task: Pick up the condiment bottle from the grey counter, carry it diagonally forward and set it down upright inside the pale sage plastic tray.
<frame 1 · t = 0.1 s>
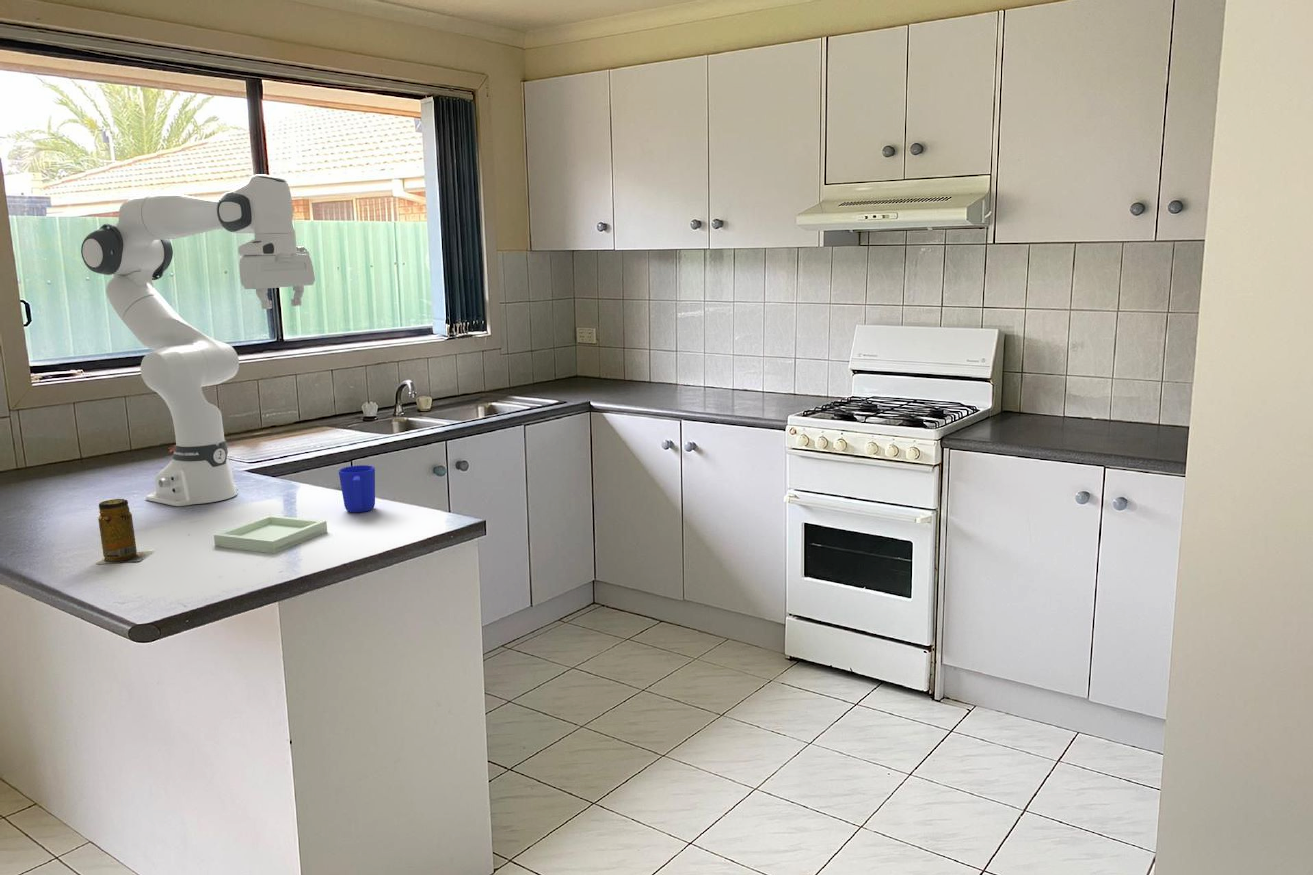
hand: (282, 307, 232), 48 cm above the worktop, fingers open, 8 cm apart
condiment: (125, 559, 204), on the worktop
tray: (272, 538, 214), on the worktop
mug: (360, 512, 234), on the worktop
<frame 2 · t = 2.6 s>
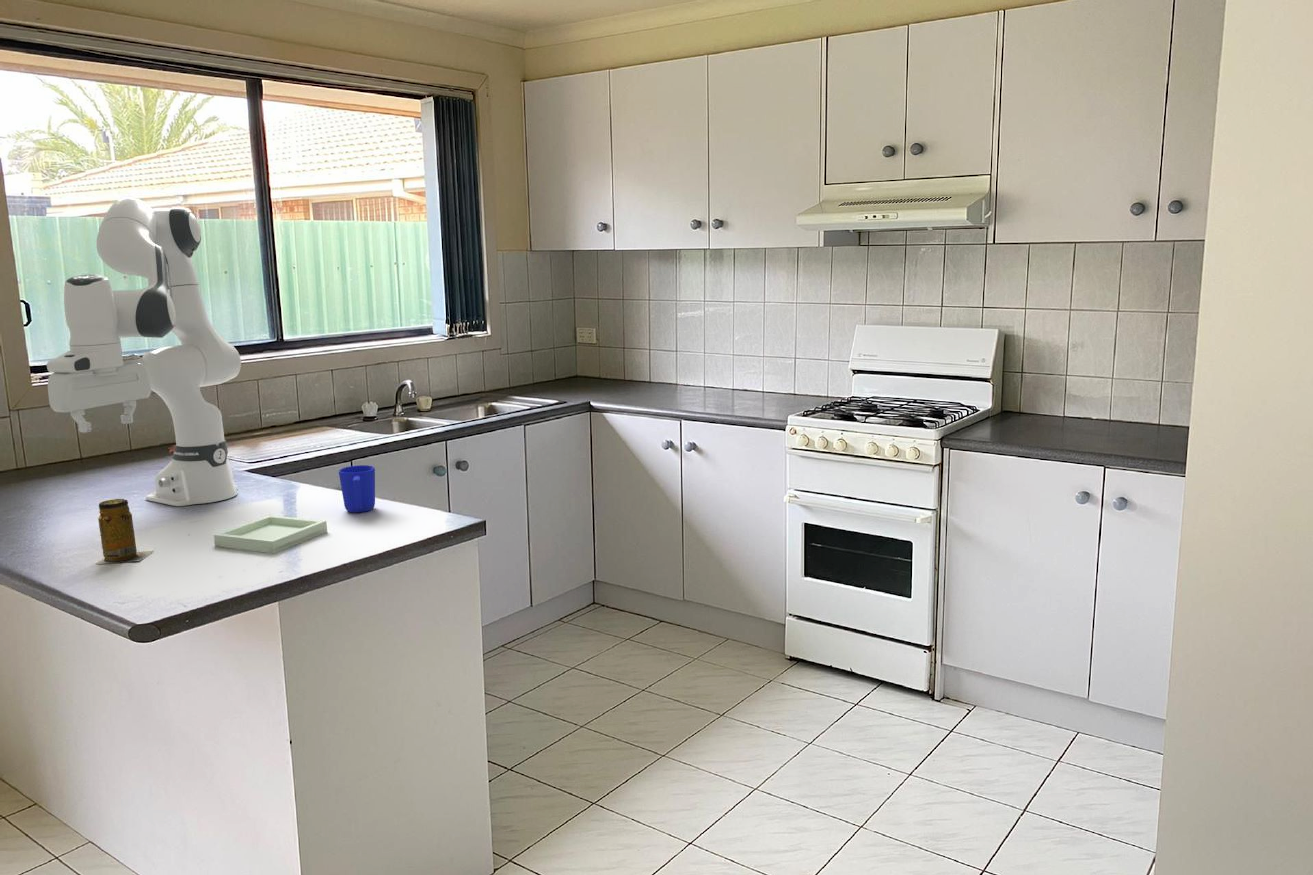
hand: (107, 427, 199), 27 cm above the worktop, fingers open, 8 cm apart
nothing on the worktop moved.
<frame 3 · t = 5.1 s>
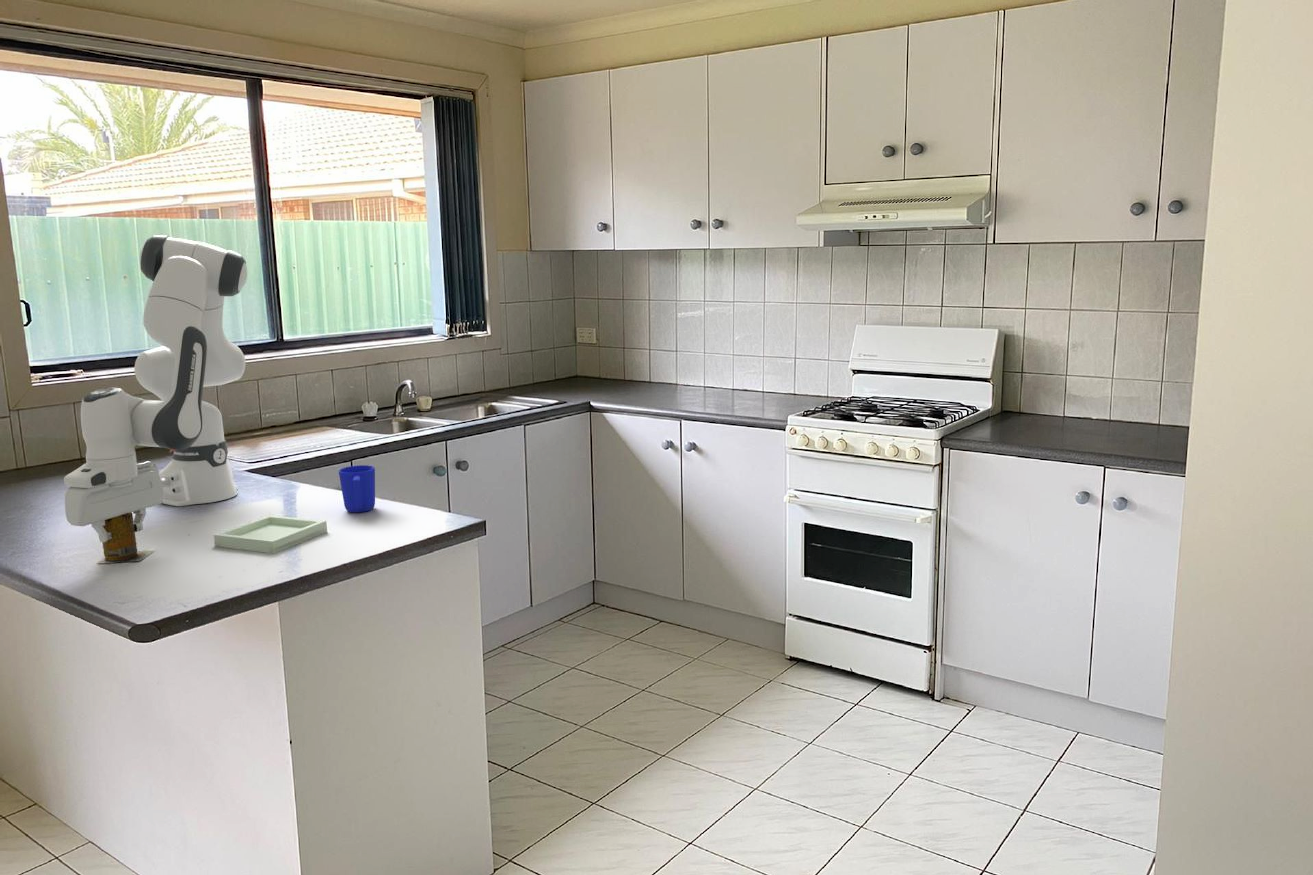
hand: (121, 536, 203), 5 cm above the worktop, fingers closed on condiment, 6 cm apart
condiment: (125, 558, 204), on the worktop, touching gripper
everything else where it was.
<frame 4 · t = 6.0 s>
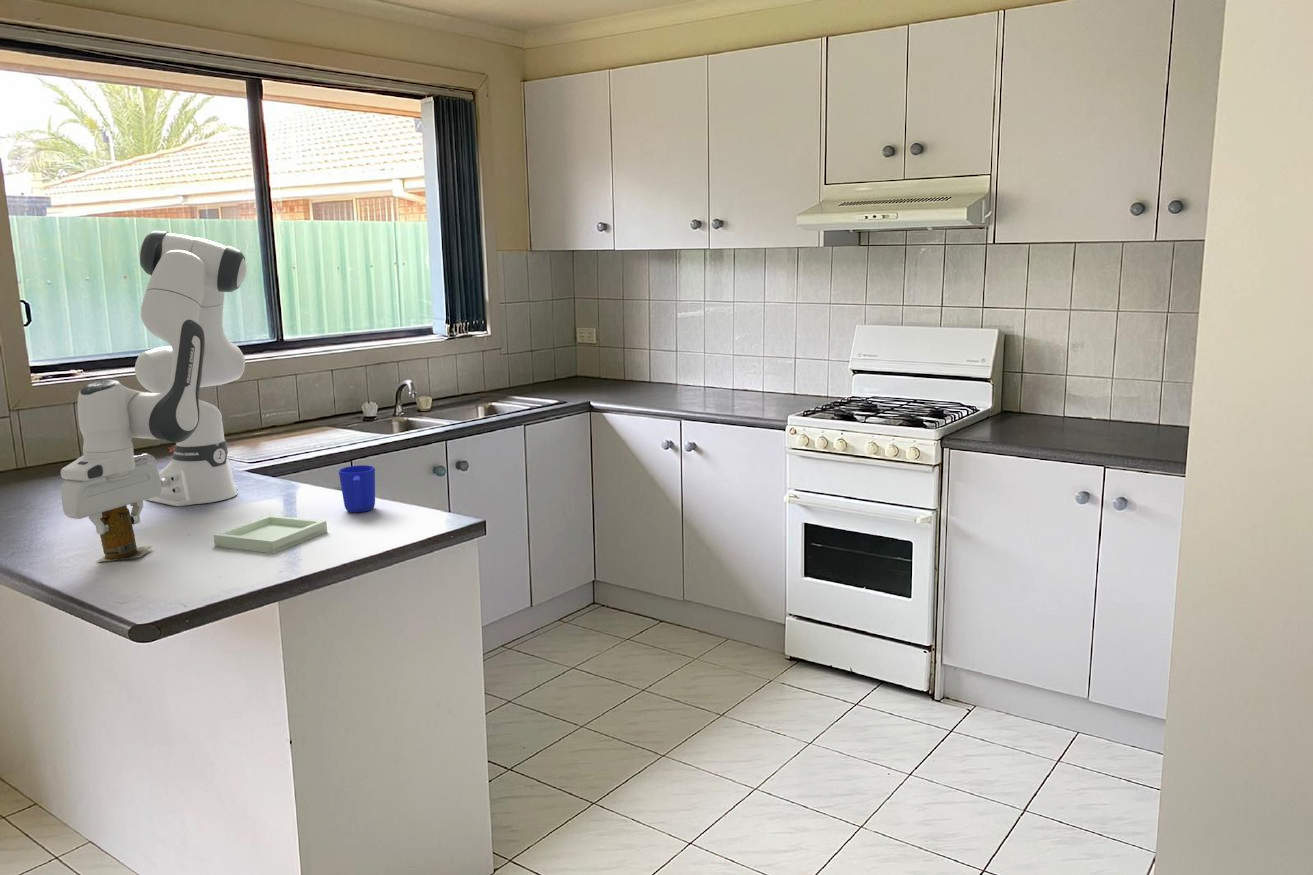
hand: (118, 528, 203), 6 cm above the worktop, fingers closed on condiment, 6 cm apart
condiment: (125, 555, 205), on the worktop, touching gripper
everything else where it was.
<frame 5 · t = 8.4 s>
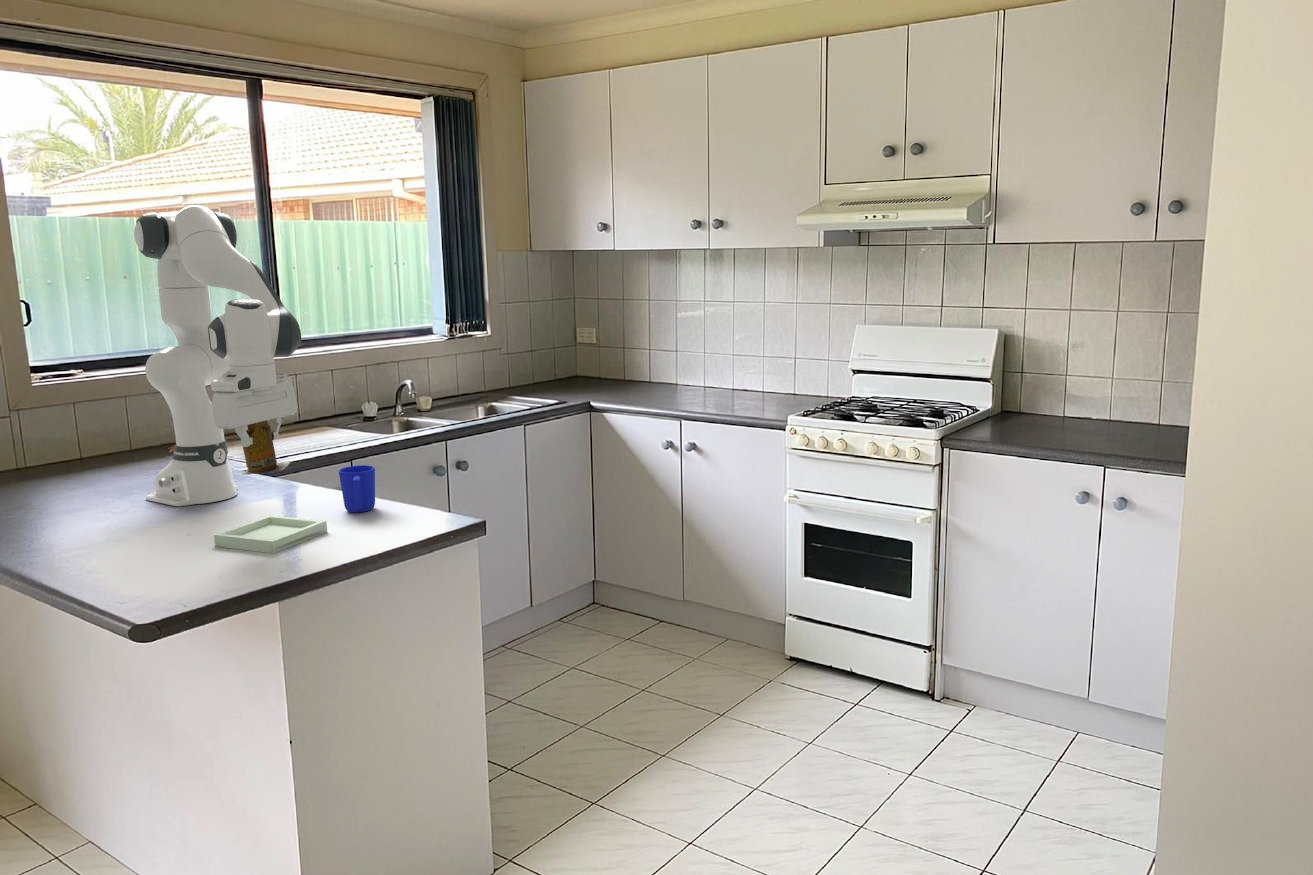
hand: (260, 442, 210), 21 cm above the worktop, fingers closed on condiment, 6 cm apart
condiment: (267, 469, 212), point 15 cm above the worktop, touching gripper
everything else where it was.
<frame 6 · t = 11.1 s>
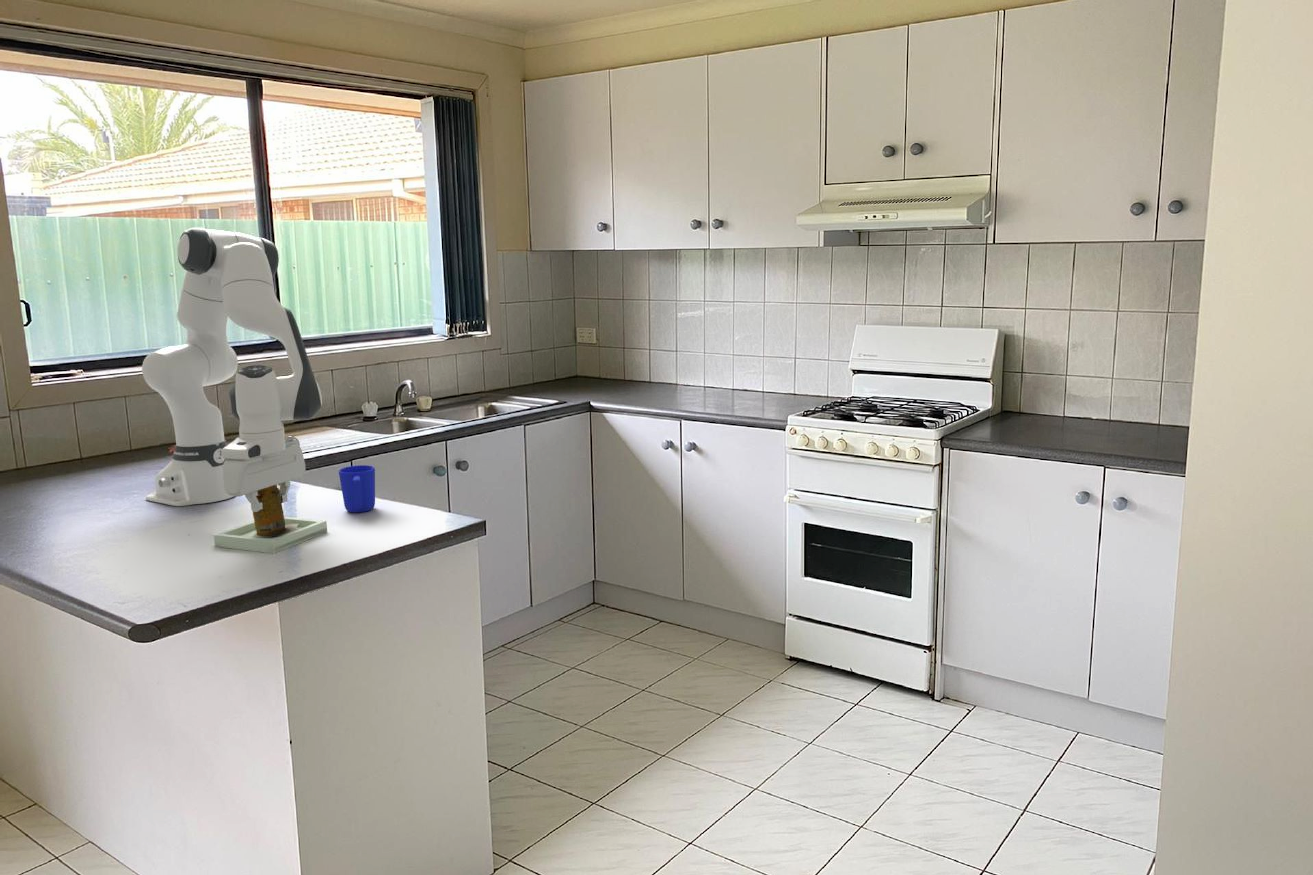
hand: (269, 506, 213), 7 cm above the worktop, fingers closed on condiment, 6 cm apart
condiment: (275, 532, 215), point 1 cm above the worktop, touching gripper, tray
everything else where it was.
when the fingers open (7 cm above the worktop, at t = 11.2 s): condiment moves 2 cm, resting on tray.
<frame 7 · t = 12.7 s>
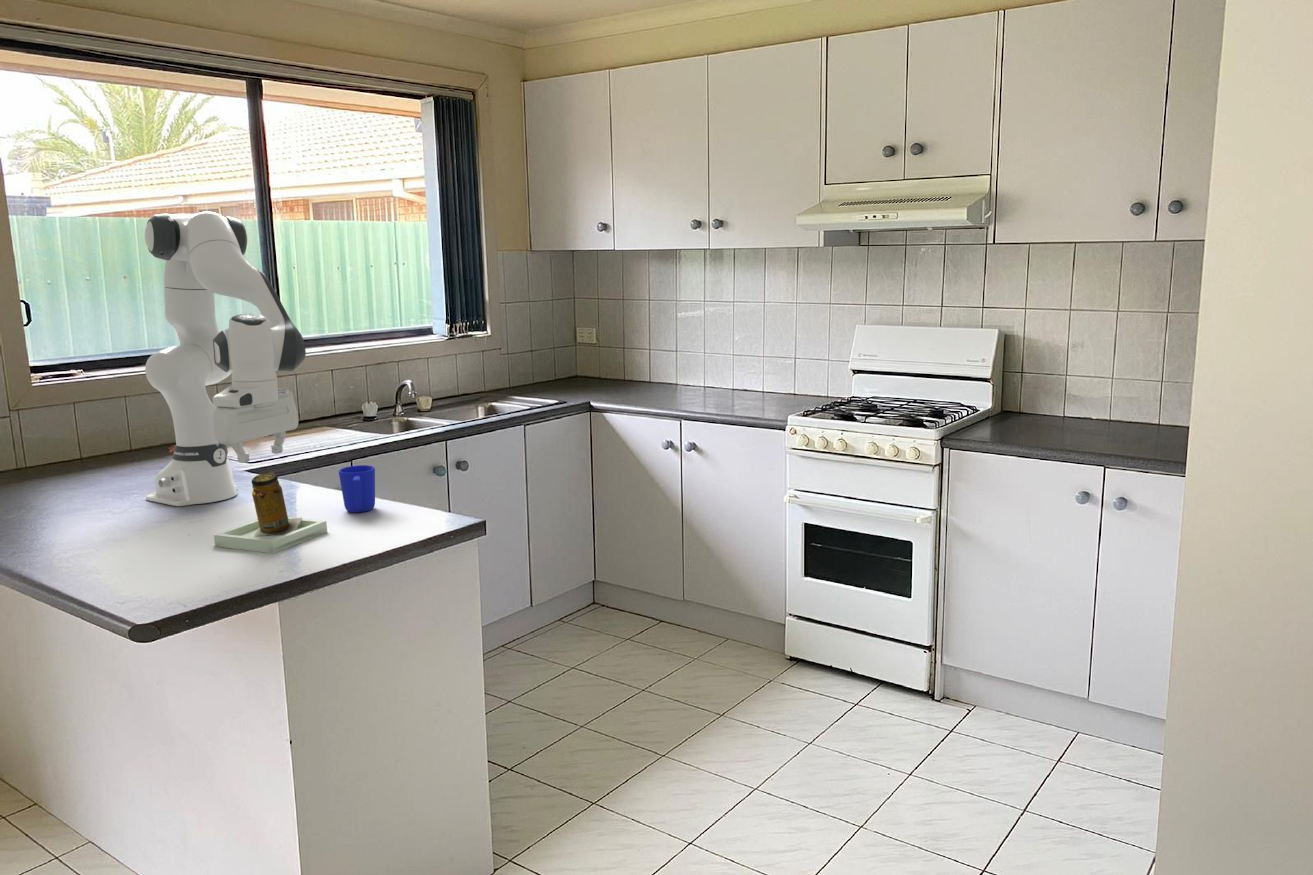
hand: (260, 457, 211), 18 cm above the worktop, fingers open, 8 cm apart
condiment: (278, 528, 216), point 2 cm above the worktop, touching tray
everything else where it was.
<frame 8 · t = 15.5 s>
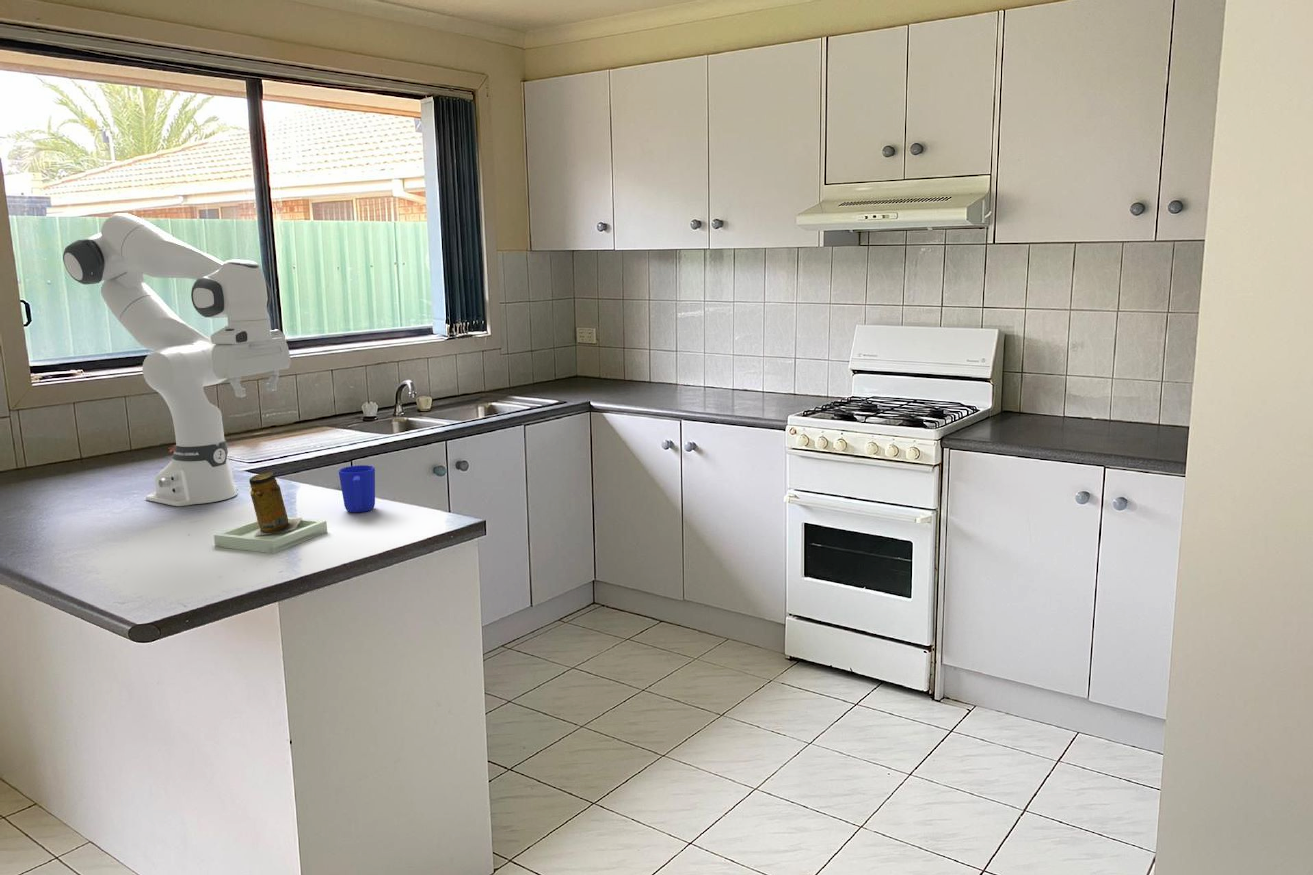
hand: (256, 393, 227), 29 cm above the worktop, fingers open, 8 cm apart
at the end: condiment inside the target area on the tray (2.6 cm from its centre), point 1.6 cm above the tray's base; condiment tilted 9°; the gripper is holding nothing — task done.
